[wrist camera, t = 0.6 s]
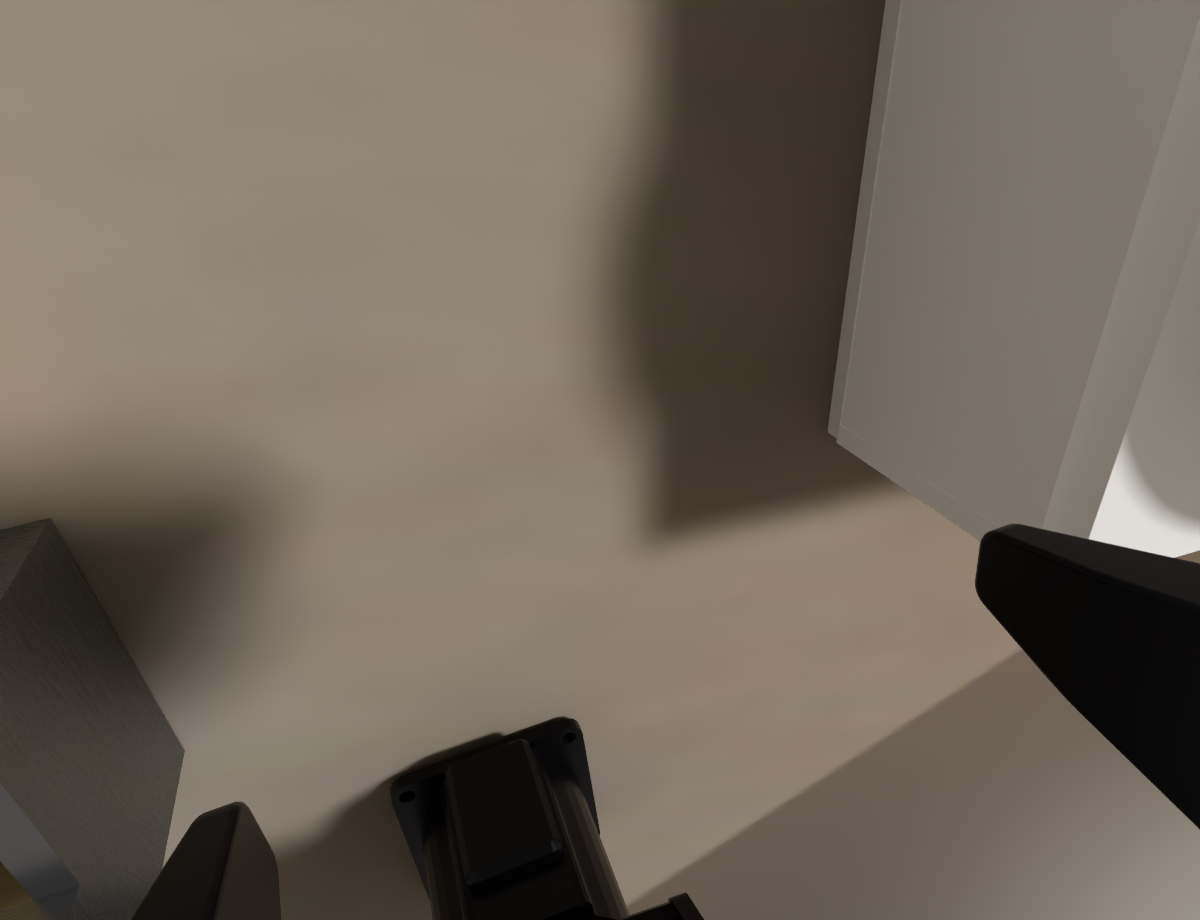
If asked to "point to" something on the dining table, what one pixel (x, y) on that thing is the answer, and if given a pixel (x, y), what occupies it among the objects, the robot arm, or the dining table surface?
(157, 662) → the dining table surface
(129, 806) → the sleeve
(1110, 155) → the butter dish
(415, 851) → the robot arm
